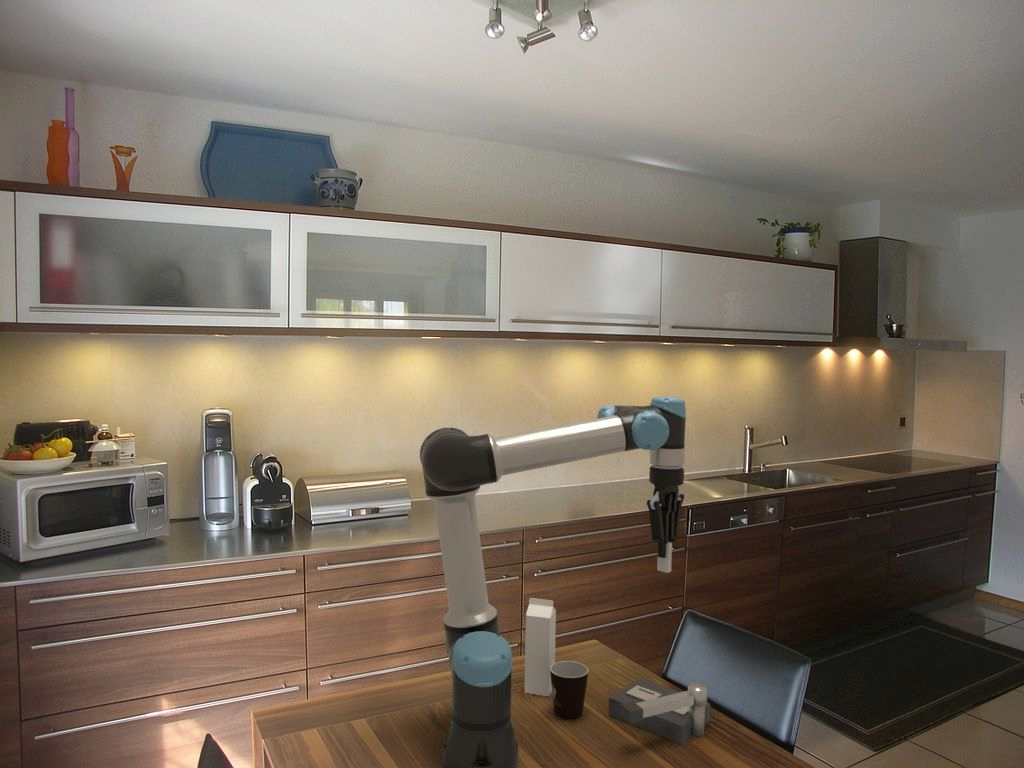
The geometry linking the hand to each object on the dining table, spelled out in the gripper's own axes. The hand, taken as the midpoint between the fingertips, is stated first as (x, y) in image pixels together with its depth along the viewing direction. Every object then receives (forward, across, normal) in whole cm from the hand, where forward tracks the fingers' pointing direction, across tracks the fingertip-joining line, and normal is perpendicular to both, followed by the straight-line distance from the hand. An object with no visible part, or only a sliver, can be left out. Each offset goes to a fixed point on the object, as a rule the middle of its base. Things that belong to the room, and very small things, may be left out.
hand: (664, 570), depth 161 cm
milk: (+33, +10, -27) cm, 43 cm away
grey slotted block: (+32, +2, +1) cm, 33 cm away
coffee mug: (+33, +13, -16) cm, 39 cm away
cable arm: (+26, +10, +7) cm, 28 cm away
